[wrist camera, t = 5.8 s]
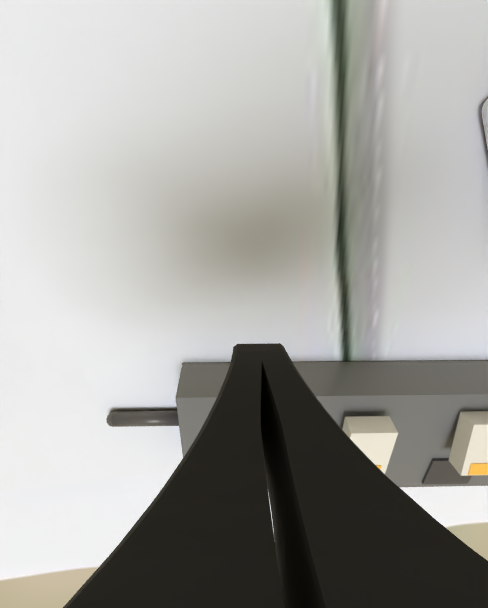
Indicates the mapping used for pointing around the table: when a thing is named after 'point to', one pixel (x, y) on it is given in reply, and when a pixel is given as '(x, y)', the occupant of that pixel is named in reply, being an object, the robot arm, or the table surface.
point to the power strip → (359, 408)
